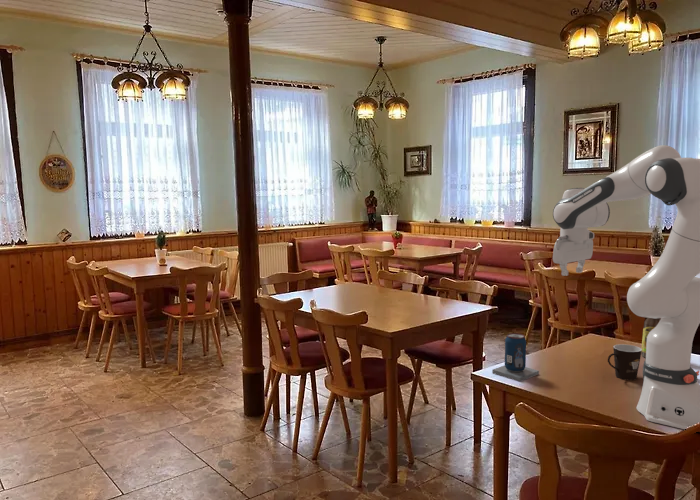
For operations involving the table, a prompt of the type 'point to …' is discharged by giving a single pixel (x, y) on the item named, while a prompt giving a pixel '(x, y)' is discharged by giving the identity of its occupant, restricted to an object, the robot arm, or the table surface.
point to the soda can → (515, 352)
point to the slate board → (515, 373)
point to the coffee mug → (626, 361)
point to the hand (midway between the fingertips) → (572, 274)
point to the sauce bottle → (648, 326)
